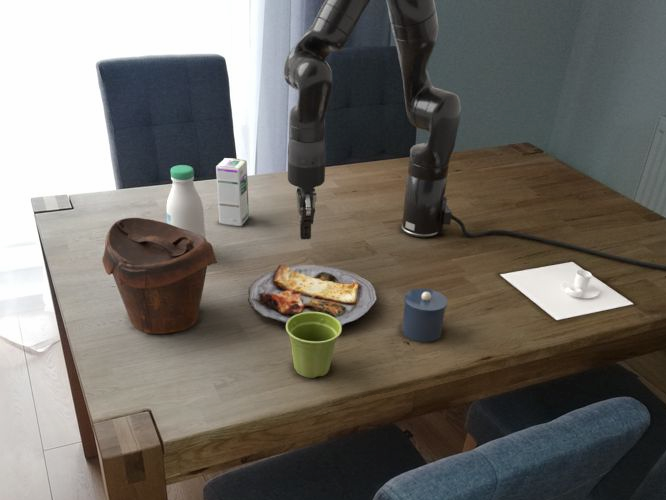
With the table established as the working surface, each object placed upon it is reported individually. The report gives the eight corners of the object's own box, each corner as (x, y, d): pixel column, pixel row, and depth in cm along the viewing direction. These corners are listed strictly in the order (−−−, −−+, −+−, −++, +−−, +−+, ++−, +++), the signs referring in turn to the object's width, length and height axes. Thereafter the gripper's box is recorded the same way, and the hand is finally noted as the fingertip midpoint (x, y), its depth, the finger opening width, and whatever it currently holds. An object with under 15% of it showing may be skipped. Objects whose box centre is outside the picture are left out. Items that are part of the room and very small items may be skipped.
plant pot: (346, 360, 127) (349, 318, 122) (328, 390, 119) (330, 347, 115) (297, 348, 129) (298, 307, 124) (276, 376, 122) (276, 334, 117)
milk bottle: (213, 254, 158) (208, 166, 147) (193, 268, 152) (186, 177, 141) (184, 246, 160) (177, 159, 149) (163, 259, 155) (154, 170, 143)
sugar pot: (436, 319, 140) (442, 281, 135) (447, 342, 133) (453, 302, 129) (396, 320, 139) (401, 281, 134) (405, 343, 132) (410, 303, 128)
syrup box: (241, 226, 170) (240, 168, 162) (218, 223, 171) (215, 164, 163) (249, 217, 175) (248, 159, 167) (226, 214, 176) (223, 156, 168)
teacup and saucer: (573, 303, 148) (578, 286, 146) (550, 285, 154) (554, 268, 152) (607, 296, 151) (612, 279, 149) (582, 279, 157) (587, 262, 155)
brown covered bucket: (226, 336, 131) (223, 248, 121) (113, 349, 126) (99, 257, 116) (212, 289, 145) (208, 206, 135) (110, 299, 140) (97, 213, 130)
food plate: (227, 314, 137) (226, 298, 135) (281, 264, 155) (281, 250, 154) (347, 347, 130) (348, 331, 128) (389, 291, 148) (391, 276, 146)
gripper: (328, 171, 138) (326, 251, 148) (321, 147, 149) (319, 224, 159) (290, 171, 137) (290, 252, 147) (285, 148, 148) (286, 224, 158)
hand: (305, 237), depth 153 cm, fingers closed
